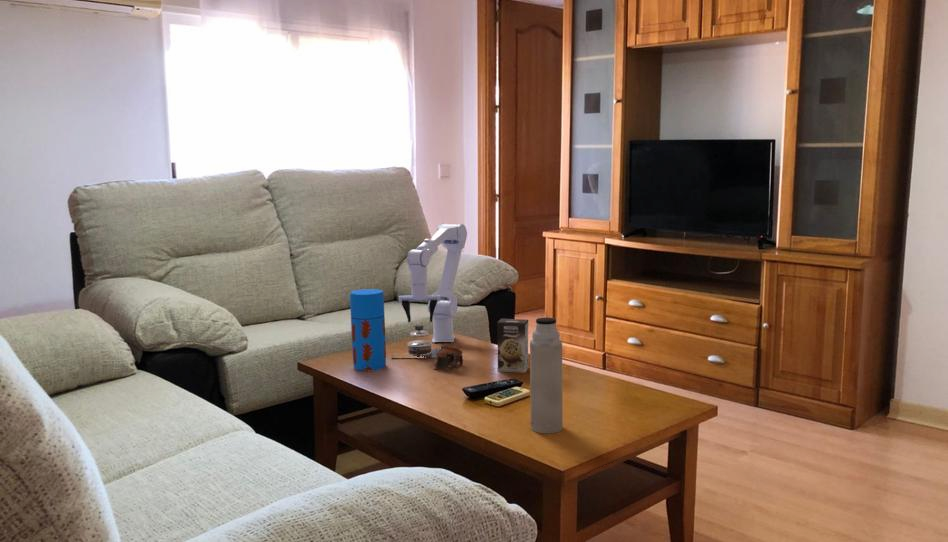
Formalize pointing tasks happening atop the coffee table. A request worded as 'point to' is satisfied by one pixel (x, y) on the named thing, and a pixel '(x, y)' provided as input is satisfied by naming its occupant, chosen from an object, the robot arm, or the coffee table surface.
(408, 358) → the coffee table surface
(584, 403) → the coffee table surface
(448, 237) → the robot arm
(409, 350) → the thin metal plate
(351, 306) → the thermos
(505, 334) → the grey cardboard box
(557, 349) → the thermos bottle
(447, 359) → the brown animal figurine
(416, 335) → the silver lid with knob
